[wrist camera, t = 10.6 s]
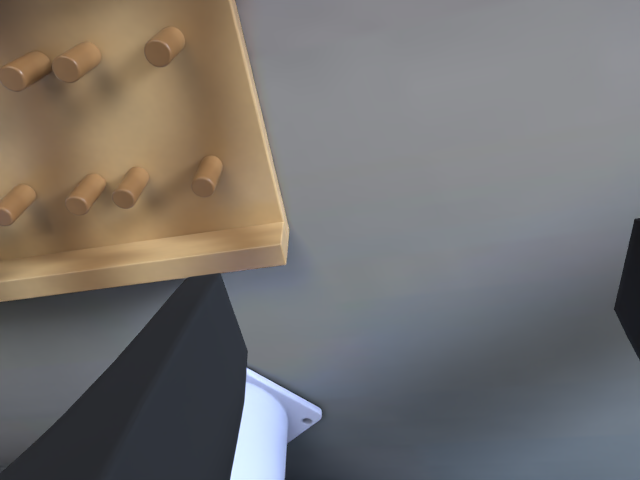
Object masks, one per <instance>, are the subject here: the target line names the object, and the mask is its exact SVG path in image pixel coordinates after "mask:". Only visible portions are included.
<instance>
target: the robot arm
mask: <svg viewBox="0 0 640 480" xmlns="http://www.w3.org/2000/svg"><path fill="white" fill-rule="evenodd" d="M614 310H615V312H616V314H617V316H618V318H619V320H620V323H621V325H622V327H623V329H624V331H625V333H626V335H627V337H628V339H629V341H630V343H631V345H632V346H633V348H634V350H635V352H636V354H637V356H638V358H639V360H640V218H638V219H635V220H634V224H633V229H632V233H631V237H630V242H629V246H628V250H627V255H626V259H625V263H624V268H623V272H622V277H621V281H620V285H619V290H618V294H617V298H616V303H615V307H614ZM247 353H248V351H247V348H246V345H245V342H244V339H243V337H242V334H241V331H240V328H239V325H238V322H237V319H236V317H235V314H234V311H233V308H232V305H231V302H230V300H229V297H228V294H227V291H226V288H225V285H224V282H223V280H222V277H221V274H220V273H215V274H207V275H199V276H192V277H188V278H187V279H186V280H185V281H184V282H183V283H182V284H181V285H180V286H179V287H178V288H177V290H176V291H175V292H174V293H173V294H172V295H171V297H170V298H169V299H168V300H167V301H166V302H165V304H164V305H163V306H162V307H161V308H160V309H159V311H158V312H157V313H156V314H155V315H154V316H153V318H152V319H151V320H150V321H149V322H148V323H147V325H146V326H145V327H144V328H143V329H142V330H141V332H140V333H139V334H138V335H137V336H136V337H135V338H134V340H133V341H132V342H131V343H130V344H129V345H128V346H127V347H126V349H125V350H124V351H123V352H122V353H121V354H120V355H119V357H118V358H117V359H116V360H115V361H114V362H113V363H112V364H111V365H110V366H109V368H108V369H107V370H106V371H105V372H104V373H103V374H102V375H101V376H100V377H99V378H98V379H97V380H96V381H95V382H94V383H93V384H92V385H91V386H90V387H89V389H88V390H87V391H86V392H85V393H84V394H83V395H82V396H81V397H80V398H79V399H78V400H77V401H76V402H75V403H74V404H73V405H72V406H71V407H70V408H69V409H68V411H67V412H66V413H65V414H64V415H63V416H62V417H61V418H60V419H59V420H57V421H56V422H55V423H54V424H53V425H52V426H51V427H50V428H49V429H48V430H47V431H46V432H45V433H44V434H43V435H42V436H41V437H40V438H39V439H38V440H37V441H36V442H35V443H33V444H32V445H31V446H30V447H29V448H28V449H27V450H26V451H25V452H23V453H22V454H21V455H20V456H19V457H18V458H17V459H16V460H15V461H14V462H12V463H11V464H10V465H9V466H8V467H7V468H6V469H5V470H4V471H3V472H1V473H0V480H285V466H286V450H287V443H288V442H290V441H291V440H293V439H294V438H295V437H297V436H298V435H300V434H301V433H302V432H304V431H305V430H306V429H308V428H309V427H311V426H312V425H313V424H315V423H316V422H318V421H319V420H320V419H321V418H322V410H321V409H320V408H319V407H317V406H316V405H314V404H312V403H310V402H308V401H307V400H305V399H303V398H301V397H299V396H297V395H296V394H294V393H292V392H290V391H288V390H286V389H285V388H283V387H281V386H279V385H277V384H275V383H274V382H272V381H270V380H268V379H266V378H265V377H263V376H261V375H259V374H257V373H255V372H254V371H252V370H250V369H248V368H247Z"/></svg>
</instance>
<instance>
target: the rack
mask: <svg viewBox="0 0 640 480" xmlns="http://www.w3.org/2000/svg"><path fill="white" fill-rule="evenodd" d="M288 239H289V226H288V222H287V218H286V214H285V210H284V205H283V201H282V197H281V193H280V188H279V184H278V180H277V176H276V171H275V167H274V163H273V159H272V155H271V150H270V146H269V142H268V138H267V133H266V129H265V125H264V121H263V116H262V112H261V108H260V104H259V100H258V95H257V91H256V87H255V83H254V78H253V74H252V70H251V66H250V62H249V57H248V53H247V49H246V45H245V40H244V36H243V32H242V28H241V23H240V19H239V15H238V11H237V7H236V2H235V0H0V302H4V301H12V300H20V299H28V298H35V297H43V296H51V295H58V294H66V293H74V292H81V291H89V290H97V289H104V288H112V287H120V286H128V285H135V284H143V283H151V282H158V281H166V280H174V279H181V278H188V277H192V276H199V275H207V274H215V273H228V272H235V271H243V270H251V269H258V268H266V267H274V266H281V265H286V262H287V251H288Z"/></svg>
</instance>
